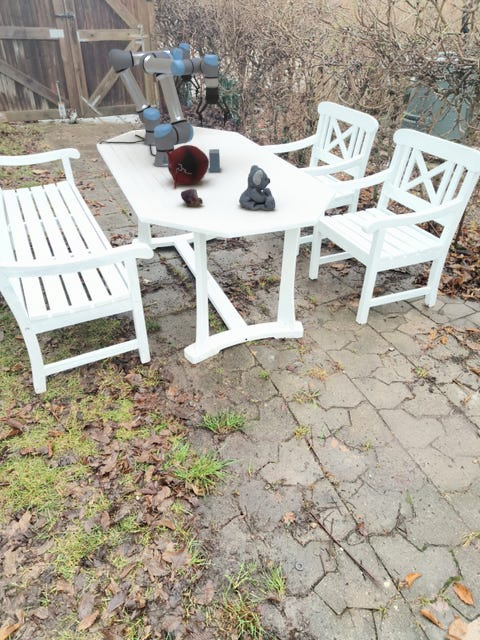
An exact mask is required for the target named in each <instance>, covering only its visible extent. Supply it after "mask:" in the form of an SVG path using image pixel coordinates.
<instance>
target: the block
mask: <svg viewBox="0 0 480 640" xmlns="http://www.w3.org/2000/svg"><path fill="white" fill-rule="evenodd" d="M208 156H209V157H208V160H209V173H211V174H212V173H221V161H220V160H221V159H220V158H221V157H220V149H219V148H215V149H209V150H208Z"/></svg>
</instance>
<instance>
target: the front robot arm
mask: <svg viewBox="0 0 480 640" xmlns="http://www.w3.org/2000/svg"><path fill="white" fill-rule="evenodd" d="M138 66H139V69H140V70H141V71H142V73H144V74H146V75H155V78H156V80H158V81H159V83H160V86H161V90H162V94H163V98H164V101H165V104H166V109H167V112H168V116H169V120H170V121H169V123H161V125H158V126H156V127H155V129H154V136H155V145H154V146H155V154H154V153H153V151H152V145H150V144H149V145H148V146H149V152H150V154H151V155H152V156H153V157H154V165H155V166H157V167H163V168H164V167H165V168H168V155H167V153H166V151H165V149H167V150H168V152H169V153H171V152H172V151H173V150H175V146H178V145H183V144H187V143H190V142H191V141H192V140H193V138H194V135H195V134H194V133H195V131H194V128H193V125H192V124H191V123H190V122H188V120H187V118H186V117H184V114H183V110H182V105H181V103H180V99H179V98H178V94H177V91H176V88H177V86H176V87H175V83H176V82H175V80H174V76H176V77H177V76H181V75H190V74H191V75H199V74H200V75H201V74H202V75H204V85H205V96H203V95H200V99H199V102H198V105H197V107H196V110H195V114H196V115H198V121H199V122H200V127H201V128H203V127H204V123H203V114H202V113H203V112H204V111H205V109H206V108H207V107H208V105H209V106H210V105H214V106H216V105H217V106H218V108H219V109H220V110H221V111H222V112H223V127H224V128H225V127H226V126H227V125H226V121H228V114H231V110H230V108H229V106H228V104H227V102H226V99H225V95H220V90H219V61H218V55H216V54H205V55H204V56H203V58H200V57H193V58H190V59H185V60H179V59H174V57H173V56H172V55H171V54H170V53H169V52H153V53H145V54H143V55H142V56H141V58H140V60H139V65H138ZM204 100H205V101H206V102H205V104H204V105H203V106H202V103H203V101H204ZM220 100H221V101H222V102H223V105H224V106H223V105H222V103H220V102H219V101H220ZM201 106H202V108H201ZM224 107H225V108H224ZM135 136H136V137H138V138H140V139H141V140H145V137H143V136H140V135H138V134H135Z"/></svg>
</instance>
